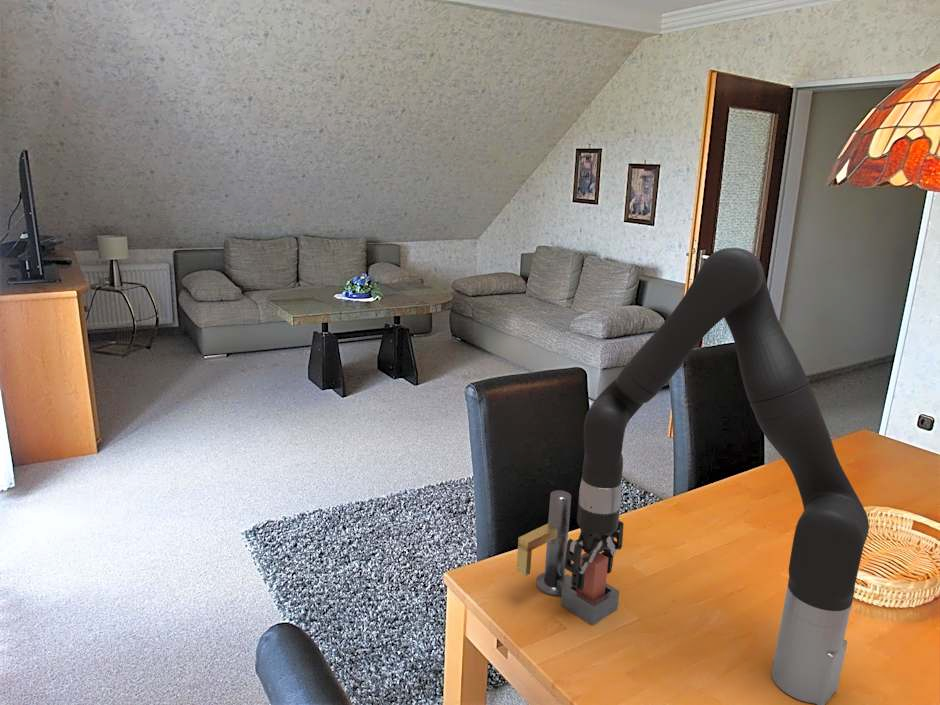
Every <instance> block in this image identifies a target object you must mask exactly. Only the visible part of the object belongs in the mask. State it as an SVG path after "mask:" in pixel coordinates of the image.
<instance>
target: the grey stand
mask: <svg viewBox="0 0 940 705" xmlns="http://www.w3.org/2000/svg"><path fill="white" fill-rule="evenodd" d="M571 501H572V494H571V493H569V492H568V491H565V490H559V489H558V490H553V491H552V492H550V498H549V508H548V509H549V510H548V521H547V523H546V524H543V525H541V526H540V527H537V528H535V529H533V530H531V531H529V532H527V533H525V534H523V535H521V536H519V537H518V540H517V541H518V542H517V555H516V556H517V557H516V558H517V559H516V560H517V561H516V571H517V572H519V573H520V574H522V575H524V577H525V576H526V577H527V576H529V575H530V574H531V568H532V567H531V566H532V551H533V550H536V549H538V548H539V547H541V546H543V545H545V544H546V546H545V547H546V550H545V560H544V572H542V573H539V575H537V577H536V581H535V586H536V588H537V589H538V590H539V592H541V593H543V594H545V595H548V596H551V597H552V596H553V597H560V596H561V601H560V602H561V603H560V606H561V607H563V609H566V610H567V611H569V612H570V613H572V614H574V615H575V616H577V617H578V618H580V619H582V620H583V621H584V622H586V623H587V624H589V625H591V626H594V625H596V624H597V623H598V622H601V620H604V619H605V618H606V617H608V616H609V615H611V614H612V613H614V612H615V611H617V610H618V609H619V608H618V605H619V598H620V597H619V596H620V590H619V589H617V588H615V587H614V586H612V585H610V584H608V583H606V587H605V595H604V596H602V597H601V598H599V599H598V600H596V601H594V602H592V601H591V600H589V599H588V598H586V597H584V596H583V595H581V594H579V593H578V592H576V590H577V589H576V588H574V587H573V586H572V584H571V581H572V575H570V574H569V573H567V574H566V569H565V568H564V566H565V558H566V550H567V543H568V540H569V528H570V518H571V517H570V516H571V505H572V504H571V503H572V502H571Z"/></svg>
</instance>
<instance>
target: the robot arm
mask: <svg viewBox="0 0 940 705" xmlns="http://www.w3.org/2000/svg"><path fill="white" fill-rule="evenodd" d="M777 316H778V315H777V313H776V310H775V308H774V304H773V302H772V298H771V294H770V291H769V287H768V283H767V279H766V276H765V272H764V267H763V265H762V263H761V261H760V259H759V258H758V257H757V256H756V255H755V254H754V253H752V252H751V251H749V250H747V249H744V248H740V247H726V248H722V249H719V250H716V251H714V252H713V253H711V254H709V256H707V258H706V259H705V260H704V261H703V263H702V265H701V266H700V269H699V271H698V272H697V274H696V276H695V277H694V279H693V280H692V282H691V284H690V286H689V287H688V289H687V291H686V292H685V294H684V296H683V297H682V299H681V300H680V301H679V303H678V305H677V306H676V307H675V309H674V310H673V311H672V313H670V315H669V316H668V317H667V319H666V320H665V321H664V322H663V324H662V325H660V327H659V328H658V329H657V330H656V331H655V332H654V333H653V334H652V335H651V336H650V338H649V339H647V341H646V342H645V343H644V344H643V345H642V346H641V348H640V349H639V350H638V351H637V352H635V354H634V356H632V357H631V359H630V360H629V361H628V362H627V364H626V365H625V366H624V367H623V368H622V369H621V371H620V372H619V374H618V375H617V377H616V378H615V379H614V380H613V381H612V382H610V383H609V384H608V386H606V388H605V389H604V390H602V392H601V393H600V394H598V396H597V397H596V399H594V401H593V402H592V404H591V405H590V408H588V411H587V413H586V415H585V417H584V418H585V419H584V422H583V424H584V425H583V448H584V450H583V451H584V458H583V463H582V472H581V473H582V474H581V481H580V484H579V485H580V486H579V490H578V492H579V493H578V502H577V503H578V504H577V514H576V522H577V525H578V528H579V529H580V533H579V536H578V539H576V540H574V539H572V538H568V541H567V550H566V558H565V566H564V568H565V570H567V571H569V572H570V573H571V577H572V581H571V584H572V586H573V587H574V588H576V589H577V590H579V591H580V590H582V589H583V587H584V576H585V570H586V568H587V565H588V564H589V563H592V561H593V559H594V557H595V555H597V554H598V553H601V554H603V555H604V556H606V557H608V568H607V575H608V574H610V573H611V572H612V571H613V570H612V569H613V564H614V563H613V562H614V557H615V556H616V554H617V550H621V549H622V548H623V540H624V539H623V538H624V521H621V520H620V511H621V510H620V509H621V501H622V478H623V470H624V457H623V454H622V453H623V445H624V438H625V432H626V428H627V425H628V423H629V422H630V420H631V419H632V418H633V417H634V415H635V414H636V413H637V412H638V411H639V409H640V408H641V407H643V405H644V404H647V403H649V401H651V400H652V399H654V397H655V396H656V395H657V394H658V393H659V392H660V391H661V390H662V389H663V387H665V385H667V383H668V382H669V381H670V380H671V379H672V377H673V376H674V375H675V373H677V371H678V370H679V369H680V368H681V366H682V365H683V364H684V362H685V361H686V360H687V358H688V357H689V355H690V354H691V353H692V351H693V350H694V349H695V347H696V346H697V345H698V344H699V343H700V341H701V340H702V339H703V338H704V337H705V336H706V335H707V334H708V333H709V332H710V331H711V330H712V329H713V328H714V327H715V326H716V325H717V324H718V323H720V321H722V320H723V319H724V320H725V322H726V325H727V327H728V329H729V330H730V333H731V335H732V340H733V341H734V347H735V350H736V354H737V360H738V366H739V369H740V375H741V379H742V382H743V388H744V390H745V394H746V396H747V400H748V401H749V404H750V407H751V410H752V412H753V415H754V417H755V419H756V421H757V424H758V426H759V428H760V429H761V431H762V433H763V435H764V436H765V437H766V439H767V440H768V441H769V443H770V444H771V445H772V447H773V448H774V449H775V451H777V453H778V454H779V455H780V456H781V458H782V459H783V460H784V461H785V463H786V464H787V466H788V467H789V469H790V472H791V473H792V476H793V478H794V480H795V484H796V485H797V489H798V492H799V495H800V498H801V501H802V506H803V511H802V513H801V515H800V516H799V518H798V521H797V523H796V526H795V530H794V535H793V540H792V544H791V545H792V546H791V552H790V559H789V564H788V580H787V586H786V591H785V597H784V601H783V602H784V603H783V607H782V608H783V609H782V613H781V617H780V624H779V629H778V633H777V635H778V636H777V641H776V645H775V650H774V655H773V656H774V657H773V659H772V668H771V671H770V672H771V673H770V675H771V678H772V680H773V682H774V683H775V684H776V687H778V688H779V689H780V690H781V691H782V692H784V693H785V694H786V695H788V696H790V697H792V698H793V699H796V700H798V701H802V702H805V703H810V704H815V705H826V704H827V703H828V702H829V701H830V699H831V698H832V697H833V695H834V694H835V693H836V692H837V691H838V686H839V683H840V679H841V674H842V668H843V665H844V660H845V655H846V651H847V646H848V641H847V639H845V636H846V633H847V626H848V622H849V620H850V619H849V618H850V613H851V609H852V604H853V600H854V595H855V592H856V590H855V586H856V582H857V578H858V573H859V568H860V563H861V559H862V555H863V551H864V546H865V544H866V541H867V538H868V536H869V535H868V534H869V530H870V523H869V517H868V515H867V511H866V510H865V507H864V506H863V504H862V501H861V500H860V498H859V497H858V495H857V493H856V491H855V489H854V488H853V486H852V485H851V482H850V480H849V478H848V477H847V474H846V473H845V471H844V469H843V467H842V465H841V463H840V461H839V459H838V456H837V453H836V451H835V448H834V445H833V442H832V439H831V435H830V432H829V430H828V428H827V425H826V421H825V419H824V418H823V414H822V411H821V407H820V406H819V404H818V400H817V398H816V395H815V393H814V391H813V388H812V386H811V384H810V381H809V379H808V377H807V374H806V373H805V371H804V369H803V366H802V364H801V362H800V360H799V358H798V356H797V354H796V352H795V350H794V348H793V346H792V344H791V342H790V341H789V338H788V337H787V335H786V333H785V332H784V330H783V328H782V326H781V324H780V322H779V320H778V317H777ZM615 539H616V540H615ZM583 552H584V553H587V554H589V556H587V557H586V556H584V555H582V554H583ZM580 559H583V563H582V565H581V566H580Z"/></svg>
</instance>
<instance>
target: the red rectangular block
mask: <svg viewBox="0 0 940 705" xmlns="http://www.w3.org/2000/svg"><path fill="white" fill-rule="evenodd" d="M601 553H602V552H599V553H598V554H597V555H595V557H594V559H593V561H592V563H589V564H588V565H587V568H586V570H585V576H584V587H583V589H582V590H580V591H579V590H576V592H578V593H579V594H581V595H583V596H584V597H586V598H588V599H589V600H591V601H592V602H594V601H596V600H598V599H599V598H601V597H602V596H604V595H605V587H606V584H607V577H608V576H607V575H608V574H607V568H608V557H606V556H604V555H603V554H601ZM581 554H582V555H584V556H586V557H587V556H589V554H587V553H586V552H584V553H581ZM582 563H583V559H580V566H581V565H582Z"/></svg>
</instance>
